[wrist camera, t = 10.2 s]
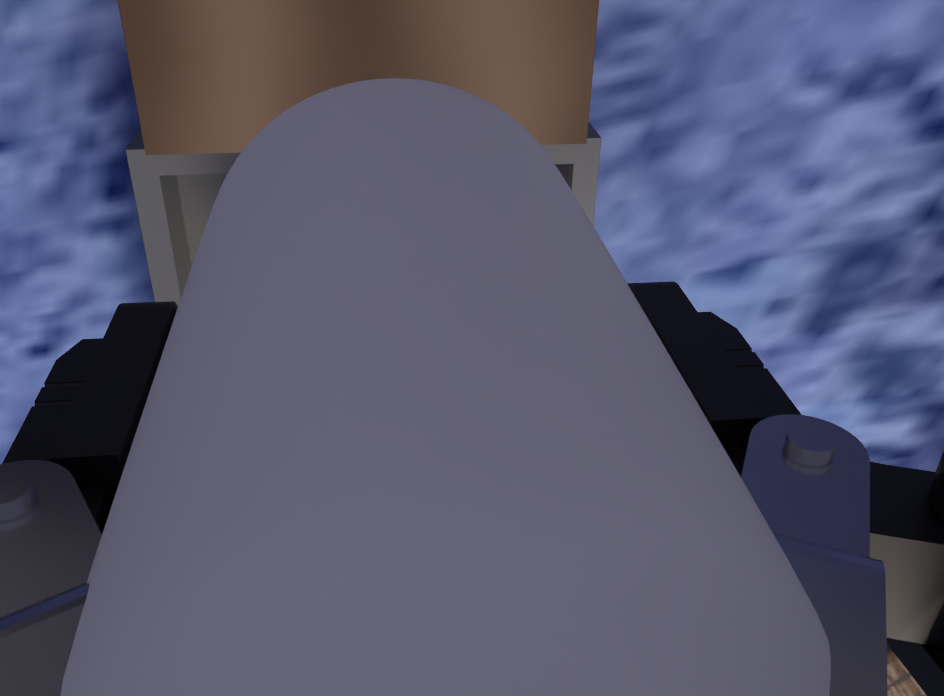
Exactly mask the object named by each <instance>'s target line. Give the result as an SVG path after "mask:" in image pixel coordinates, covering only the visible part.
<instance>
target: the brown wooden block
mask: <svg viewBox="0 0 944 696" xmlns="http://www.w3.org/2000/svg"><path fill="white" fill-rule="evenodd" d="M118 5H119V10H120V16H121V21H122V27H123V32H124V38H125V43H126V49H127V54H128V60H129V65H130V71H131V76H132V82H133V87H134V93H135V98H136V104H137V109H138V115H139V120H140V126H141V131H142V137H143V142H144V148H145V153H146V155H168V154H207V153H241V152H242V151H243V150H244V148H245V147H246V146H247V145H248V143H249V142H250V141H251V140H252V139H253V138H254V137H255V136H256V135H257V134H258V133H259V132H260V131H261V130H262V129H263V128H264V127H265V126H266V125H267V124H269V123H270V122H271V121H272V120H273V119H275V118H276V117H277V116H279V115H280V114H282V113H283V112H284V111H286V110H287V109H289V108H291V107H292V106H294V105H296V104H297V103H299V102H301V101H303V100H305V99H307V98H309V97H311V96H313V95H316V94H318V93H320V92H323V91H326V90H328V89H331V88H334V87H338V86H341V85H345V84H349V83H354V82H359V81H365V80H373V79H386V78H404V79H417V80H424V81H430V82H436V83H440V84H444V85H448V86H451V87H455V88H458V89H461V90H463V91H466V92H469V93H471V94H473V95H476V96H478V97H480V98H482V99H484V100H486V101H488V102H489V103H491V104H493V105H495V106H496V107H498V108H500V109H501V110H503V111H504V112H505V113H507V114H508V115H510V116H511V117H512V118H514V119H515V120H516V121H517V122H518V123H520V124H521V125H522V126H523V127H524V128H525V129H526V130H527V131H528V132H529V133H530V134H531V135H532V136H533V137H534V138H535V139H536V140H537V141H538V142H539V144H540V145H554V144H587V133H588V121H589V109H590V98H591V86H592V75H593V63H594V52H595V40H596V29H597V17H598V6H599V0H118Z"/></svg>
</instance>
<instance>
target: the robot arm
mask: <svg viewBox="0 0 944 696" xmlns="http://www.w3.org/2000/svg"><path fill="white" fill-rule="evenodd" d="M627 284H628V286H629V288H630V289H631V291H632V293H633V294H634V296H635V298H636V299H637V301H638V303H639V304H640V306H641V308H642V309H643V311H644V313H645V315H646V316H647V318H648V320H649V321H650V323H651V325H652V326H653V328H654V330H655V332H656V333H657V335H658V337H659V338H660V340H661V342H662V343H663V345H664V347H665V349H666V350H667V352H668V354H669V355H670V357H671V359H672V360H673V362H674V364H675V366H676V367H677V369H678V371H679V372H680V374H681V376H682V377H683V379H684V381H685V383H686V384H687V386H688V388H689V389H690V391H691V393H692V395H693V396H694V398H695V400H696V401H697V403H698V405H699V407H700V408H701V410H702V412H703V413H704V415H705V417H706V419H707V420H708V422H709V424H710V425H711V427H712V429H713V431H714V432H715V434H716V436H717V437H718V439H719V441H720V443H721V444H722V446H723V448H724V449H725V451H726V453H727V455H728V456H729V458H730V460H731V461H732V463H733V465H734V467H735V468H736V470H737V472H738V473H739V475H740V477H741V479H742V480H743V482H744V484H745V485H746V487H747V489H748V491H749V492H750V494H751V496H752V498H753V499H754V501H755V503H756V505H757V506H758V508H759V510H760V512H761V513H762V515H763V517H764V519H765V520H766V522H767V524H768V526H769V527H770V529H771V531H772V533H773V534H774V536H775V538H776V540H777V541H778V543H779V545H780V546H781V548H782V550H783V552H784V553H785V555H786V557H787V559H788V560H789V562H790V564H791V566H792V568H793V570H794V572H795V573H796V575H797V577H798V579H799V581H800V583H801V585H802V586H803V588H804V590H805V592H806V594H807V596H808V598H809V599H810V601H811V603H812V605H813V607H814V609H815V611H816V612H817V615H818V617H819V619H820V622H821V624H822V626H823V629H824V631H825V634H826V636H827V638H828V641H829V647H830V656H831V678H830V693H829V696H888V693H887V644H888V645H889V647H890V648H891V650H892V651H893V652H894V653H895V655H896V656H897V657H898V659H899V660H900V661H901V663H902V664H903V665H904V667H905V668H906V669H907V670H908V672H909V673H910V674H911V676H912V677H913V678H914V680H915V681H916V682H917V683H918V685H919V686H920V687H921V689H922V690H923V691H924V693H925V694H926V695H927V696H944V452H943V454H942V457H941V459H940V462H939V465H938V467H937V470H936V472H931V471H924V470H918V469H911V468H904V467H897V466H891V465H884V464H879V463H874V462H870V458H869V454H868V452H867V450H866V448H865V447H864V446H863V444H862V443H861V442H860V441H859V440H858V439H857V438H856V437H855V436H853V435H852V434H851V433H849V432H848V431H846V430H845V429H843V428H841V427H839V426H837V425H835V424H833V423H830V422H828V421H825V420H822V419H818V418H815V417H810V416H804V415H801V414H800V412H799V411H798V410H797V408H796V407H795V406H794V404H793V403H792V402H791V400H790V399H789V398H788V396H787V395H786V394H785V392H784V391H783V390H782V388H781V387H780V386H779V384H778V383H777V382H776V380H775V379H774V378H773V376H772V375H771V374H770V372H769V371H768V370H767V369H764V364H763V363H762V362H761V360H760V359H759V358H758V356H757V355H756V354H755V352H752V351H751V349H752V348H751V347H750V346H749V344H748V343H747V342H746V340H745V339H744V338H743V336H742V335H741V334H740V332H739V331H738V330H737V328H735V327H733V326H732V325H730V324H729V323H727V322H726V321H724V320H722V319H721V318H719V317H718V316H716V315H715V314H713V313H711V312H697V311H696V310H695V308H694V307H693V305H692V304H691V302H690V301H689V299H688V298H687V297H686V295H685V294H684V292H683V291H682V289H681V288H680V287H679V285H678V284H677V283H676V282H652V283H627ZM177 309H178V306H177V304H176V302H174V301H168V302H144V303H122V304H120V305H119V306H118V307H117V309H116V311H115V314H114V316H113V318H112V320H111V322H110V325H109V327H108V329H107V331H106V333H105V336H104V338H102V339H82V340H81V341H80V342H79V343H77V344H76V345H75V346H73V347H72V348H71V349H70V350H68V351H67V352H66V353H65V354H63V355H62V356H61V357H60V358H58V359H57V360H56V362H55V364H54V366H53V367H52V369H51V371H50V373H49V375H48V377H47V379H46V381H45V387H42V388H41V390H40V392H39V394H38V396H37V398H36V400H35V406H34V407H32V408H31V410H30V411H29V413H28V415H27V417H26V419H25V421H24V423H23V425H22V427H21V429H20V431H19V432H18V434H17V436H16V438H15V440H14V442H13V444H12V446H11V448H10V450H9V452H8V454H7V455H6V457H5V459H4V461H3V463H2V464H0V696H60V695H61V689H62V683H63V678H64V674H65V670H66V667H67V663H68V660H69V656H70V653H71V649H72V646H73V642H74V638H75V635H76V631H77V628H78V624H79V621H80V617H81V614H82V611H83V608H84V604H85V601H86V598H87V594H88V590H89V583H87V580H88V577H89V573H90V570H91V567H92V564H93V561H94V558H95V555H96V552H97V549H98V546H99V543H100V540H101V537H102V534H103V531H104V528H105V525H106V522H107V519H108V515H109V512H110V509H111V506H112V503H113V500H114V497H115V494H116V491H117V488H118V485H119V482H120V479H121V476H122V473H123V470H124V467H125V464H126V461H127V458H128V455H129V452H130V449H131V446H132V443H133V440H134V437H135V434H136V431H137V428H138V425H139V422H140V419H141V416H142V413H143V410H144V407H145V404H146V401H147V398H148V395H149V392H150V389H151V386H152V383H153V380H154V377H155V374H156V371H157V368H158V365H159V362H160V359H161V356H162V353H163V350H164V347H165V344H166V341H167V338H168V335H169V332H170V329H171V326H172V323H173V320H174V317H175V315H176V312H177ZM86 583H87V584H86Z"/></svg>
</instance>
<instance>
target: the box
mask: <svg viewBox="0 0 944 696" xmlns="http://www.w3.org/2000/svg"><path fill="white" fill-rule="evenodd" d="M541 146H542V147H543V148H544V150H545V151H546V152H547V154H548V155H549V156H550V158H551V159H552V161H553V162H554V164H555V165H556V167H557V168H558V170H559V171H560V173H561V174H562V176H563V178H564V179H565V181H566V182H567V184H568V186H569V187H570V189H571V190H572V192H573V194H574V195H575V197H576V199H577V200H578V202H579V204H580V205H581V207H582V209H583V210H584V212H585V214H586V215H587V217H588V219H589V220H590V222H591V224H592V225H593V221H594V210H595V200H596V189H597V179H598V168H599V158H600V147H601V137H600V135H599V134H598V133H597V132H596V131H595V129H594V128H593V127H592V126H591V124H590V123H589V122H588V133H587V144H554V145H541ZM126 154H127V159H128V164H129V169H130V175H131V180H132V185H133V190H134V195H135V200H136V206H137V211H138V216H139V221H140V226H141V231H142V237H143V242H144V247H145V252H146V257H147V262H148V268H149V273H150V278H151V283H152V288H153V293H154V299H155V302H168V301H174V302H176V304H177V306H179V303H180V300H181V297H182V294H183V291H184V288H185V285H186V282H187V279H188V276H189V273H190V270H191V267H192V265H193V262H194V259H195V256H196V253H197V250H198V247H199V244H200V241H201V238H202V235H203V233H204V230H205V227H206V224H207V222H208V219H209V216H210V213H211V210H212V208H213V205H214V203H215V200H216V198H217V195H218V193H219V190H220V188H221V186H222V184H223V182H224V180H225V178H226V176H227V174H228V172H229V170H230V169H231V167H232V165H233V164H234V162H235V161H236V159H237V158H238V156H239V155H240V154H241V153H207V154H168V155H146V153H145V148H144V142H143V137H142V131H141V126H140V128H139V129H138V131H137V133H136V134H135V136H134V137H133V139H132V141H131V142H130V144H129V145H128V147H127V149H126Z"/></svg>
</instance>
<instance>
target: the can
mask: <svg viewBox="0 0 944 696" xmlns="http://www.w3.org/2000/svg"><path fill="white" fill-rule="evenodd" d="M87 583H89V590H88V594H87V598H86V601H85V604H84V608H83V611H82V614H81V617H80V621H79V624H78V628H77V631H76V635H75V638H74V642H73V646H72V649H71V653H70V656H69V660H68V663H67V667H66V670H65V674H64V678H63V683H62V689H61V695H60V696H829V693H830V678H831V656H830V647H829V641H828V638H827V636H826V634H825V631H824V629H823V626H822V624H821V622H820V619H819V617H818V615H817V612H816V611H815V609H814V607H813V605H812V603H811V601H810V599H809V598H808V596H807V594H806V592H805V590H804V588H803V586H802V585H801V583H800V581H799V579H798V577H797V575H796V573H795V572H794V570H793V568H792V566H791V564H790V562H789V560H788V559H787V557H786V555H785V553H784V552H783V550H782V548H781V546H780V545H779V543H778V541H777V540H776V538H775V536H774V534H773V533H772V531H771V529H770V527H769V526H768V524H767V522H766V520H765V519H764V517H763V515H762V513H761V512H760V510H759V508H758V506H757V505H756V503H755V501H754V499H753V498H752V496H751V494H750V492H749V491H748V489H747V487H746V485H745V484H744V482H743V480H742V479H741V477H740V475H739V473H738V472H737V470H736V468H735V467H734V465H733V463H732V461H731V460H730V458H729V456H728V455H727V453H726V451H725V449H724V448H723V446H722V444H721V443H720V441H719V439H718V437H717V436H716V434H715V432H714V431H713V429H712V427H711V425H710V424H709V422H708V420H707V419H706V417H705V415H704V413H703V412H702V410H701V408H700V407H699V405H698V403H697V401H696V400H695V398H694V396H693V395H692V393H691V391H690V389H689V388H688V386H687V384H686V383H685V381H684V379H683V377H682V376H681V374H680V372H679V371H678V369H677V367H676V366H675V364H674V362H673V360H672V359H671V357H670V355H669V354H668V352H667V350H666V349H665V347H664V345H663V343H662V342H661V340H660V338H659V337H658V335H657V333H656V332H655V330H654V328H653V326H652V325H651V323H650V321H649V320H648V318H647V316H646V315H645V313H644V311H643V309H642V308H641V306H640V304H639V303H638V301H637V299H636V298H635V296H634V294H633V293H632V291H631V289H630V288H629V286H628V284H627V282H626V281H625V279H624V277H623V276H622V274H621V272H620V271H619V269H618V267H617V266H616V264H615V262H614V261H613V259H612V257H611V255H610V254H609V252H608V250H607V249H606V247H605V245H604V244H603V242H602V240H601V239H600V237H599V235H598V234H597V232H596V230H595V229H594V227H593V225H592V224H591V222H590V220H589V219H588V217H587V215H586V214H585V212H584V210H583V209H582V207H581V205H580V204H579V202H578V200H577V199H576V197H575V195H574V194H573V192H572V190H571V189H570V187H569V186H568V184H567V182H566V181H565V179H564V178H563V176H562V174H561V173H560V171H559V170H558V168H557V167H556V165H555V164H554V162H553V161H552V159H551V158H550V156H549V155H548V154H547V152H546V151H545V150H544V148H543V147H542V146H541V145H540V144H539V142H538V141H537V140H536V139H535V138H534V137H533V136H532V135H531V134H530V133H529V132H528V131H527V130H526V129H525V128H524V127H523V126H522V125H521V124H520V123H518V122H517V121H516V120H515V119H514V118H512V117H511V116H510V115H508V114H507V113H505V112H504V111H503V110H501V109H500V108H498V107H496V106H495V105H493V104H491V103H489V102H488V101H486V100H484V99H482V98H480V97H478V96H476V95H473V94H471V93H469V92H466V91H463V90H461V89H458V88H455V87H451V86H448V85H444V84H440V83H436V82H430V81H424V80H417V79H404V78H386V79H373V80H365V81H359V82H354V83H349V84H345V85H341V86H338V87H334V88H331V89H328V90H326V91H323V92H320V93H318V94H316V95H313V96H311V97H309V98H307V99H305V100H303V101H301V102H299V103H297V104H296V105H294V106H292V107H291V108H289V109H287V110H286V111H284V112H283V113H282V114H280V115H279V116H277V117H276V118H275V119H273V120H272V121H271V122H270V123H269V124H267V125H266V126H265V127H264V128H263V129H262V130H261V131H260V132H259V133H258V134H257V135H256V136H255V137H254V138H253V139H252V140H251V141H250V142H249V143H248V145H247V146H246V147H245V148H244V150H243V151H242V152H241V154H240V155H239V156H238V158H237V159H236V161H235V162H234V164H233V165H232V167H231V169H230V170H229V172H228V174H227V176H226V178H225V180H224V182H223V184H222V186H221V188H220V190H219V193H218V195H217V198H216V200H215V203H214V205H213V208H212V210H211V213H210V216H209V219H208V222H207V224H206V227H205V230H204V233H203V235H202V238H201V241H200V244H199V247H198V250H197V253H196V256H195V259H194V262H193V265H192V267H191V270H190V273H189V276H188V279H187V282H186V285H185V288H184V291H183V294H182V297H181V300H180V303H179V306H178V309H177V312H176V315H175V317H174V320H173V323H172V326H171V329H170V332H169V335H168V338H167V341H166V344H165V347H164V350H163V353H162V356H161V359H160V362H159V365H158V368H157V371H156V374H155V377H154V380H153V383H152V386H151V389H150V392H149V395H148V398H147V401H146V404H145V407H144V410H143V413H142V416H141V419H140V422H139V425H138V428H137V431H136V434H135V437H134V440H133V443H132V446H131V449H130V452H129V455H128V458H127V461H126V464H125V467H124V470H123V473H122V476H121V479H120V482H119V485H118V488H117V491H116V494H115V497H114V500H113V503H112V506H111V509H110V512H109V515H108V519H107V522H106V525H105V528H104V531H103V534H102V537H101V540H100V543H99V546H98V549H97V552H96V555H95V558H94V561H93V564H92V567H91V570H90V573H89V577H88V580H87ZM87 583H86V584H87Z"/></svg>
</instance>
